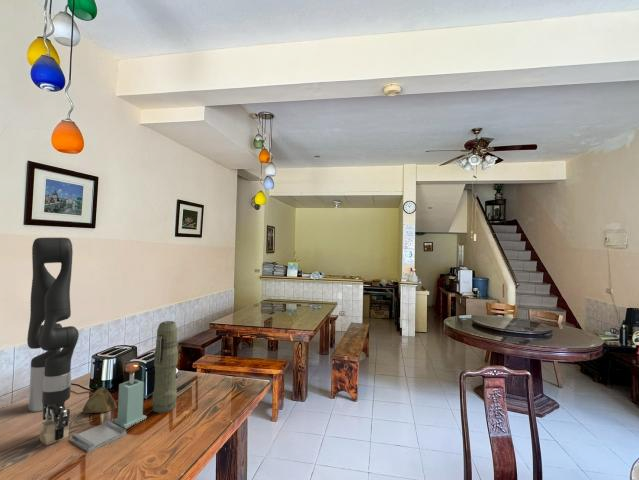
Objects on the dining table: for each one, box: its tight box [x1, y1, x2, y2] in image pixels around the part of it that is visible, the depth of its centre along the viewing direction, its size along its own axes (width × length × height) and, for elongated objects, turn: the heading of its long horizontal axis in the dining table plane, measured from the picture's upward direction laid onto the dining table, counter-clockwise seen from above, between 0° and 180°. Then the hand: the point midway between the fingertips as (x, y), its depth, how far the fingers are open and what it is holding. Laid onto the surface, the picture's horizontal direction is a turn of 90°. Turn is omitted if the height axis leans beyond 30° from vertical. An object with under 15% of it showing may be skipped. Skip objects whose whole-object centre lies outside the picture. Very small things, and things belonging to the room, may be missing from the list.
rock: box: [82, 387, 118, 414], centre depth 130 cm, size 11×9×10 cm
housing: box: [39, 417, 70, 446], centre depth 110 cm, size 5×6×7 cm
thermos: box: [151, 320, 179, 414], centre depth 134 cm, size 9×12×35 cm
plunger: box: [125, 362, 140, 386], centre depth 123 cm, size 4×4×13 cm
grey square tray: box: [69, 419, 127, 453], centre depth 111 cm, size 12×12×2 cm
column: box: [112, 378, 147, 429], centre depth 123 cm, size 8×8×14 cm
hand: (54, 436), depth 110 cm, fingers open, 6 cm apart
